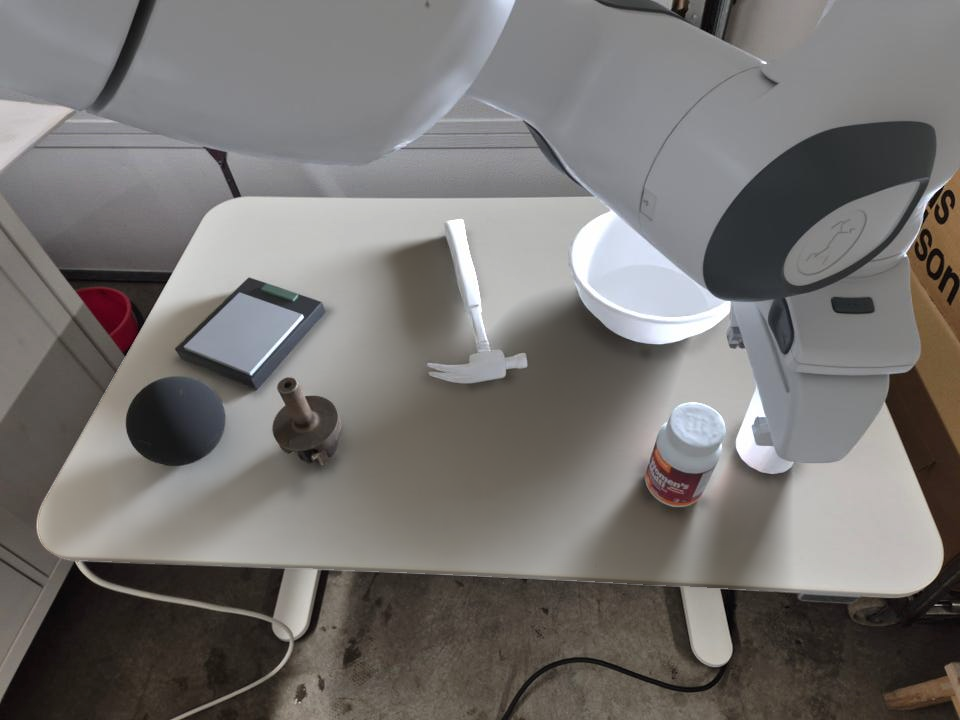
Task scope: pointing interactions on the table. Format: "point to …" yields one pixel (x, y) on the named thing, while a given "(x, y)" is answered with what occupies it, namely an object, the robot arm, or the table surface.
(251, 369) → the scale
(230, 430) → the table surface
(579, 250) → the bowl
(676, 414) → the pill bottle
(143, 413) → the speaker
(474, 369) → the hammer
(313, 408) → the industrial component
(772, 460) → the cup
